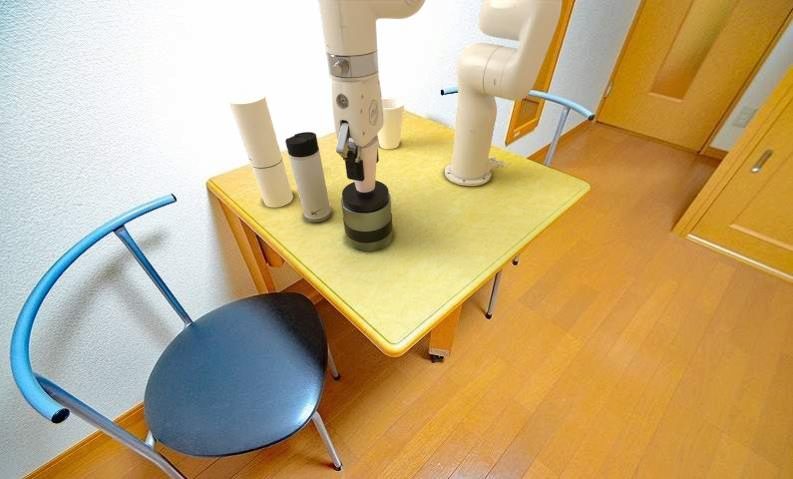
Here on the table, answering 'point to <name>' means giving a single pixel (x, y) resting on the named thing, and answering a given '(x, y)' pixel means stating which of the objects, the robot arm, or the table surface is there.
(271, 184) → the cylindrical container
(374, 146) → the smoothie
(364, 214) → the jar
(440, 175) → the table surface
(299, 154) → the travel mug
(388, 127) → the foam cup
